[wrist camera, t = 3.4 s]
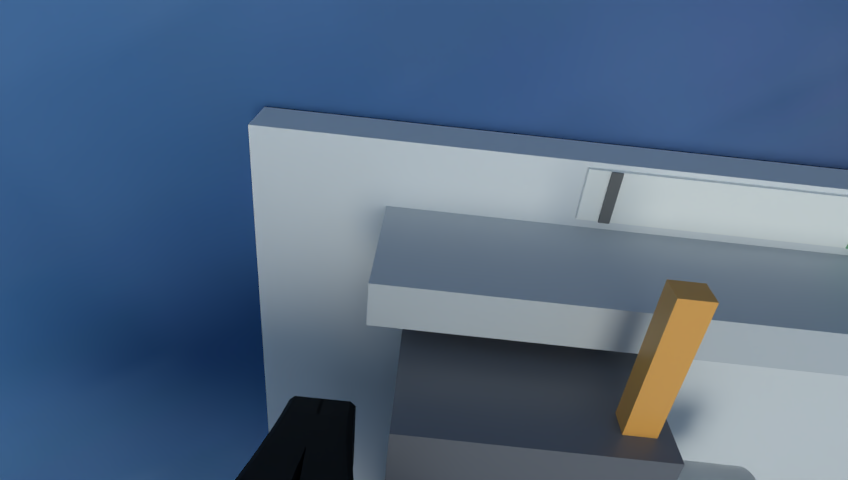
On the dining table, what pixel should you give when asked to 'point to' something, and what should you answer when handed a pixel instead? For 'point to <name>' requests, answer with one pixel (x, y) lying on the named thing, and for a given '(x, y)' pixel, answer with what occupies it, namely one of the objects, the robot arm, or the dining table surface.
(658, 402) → the block with orange peg
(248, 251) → the dining table surface
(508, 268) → the gauge frame
